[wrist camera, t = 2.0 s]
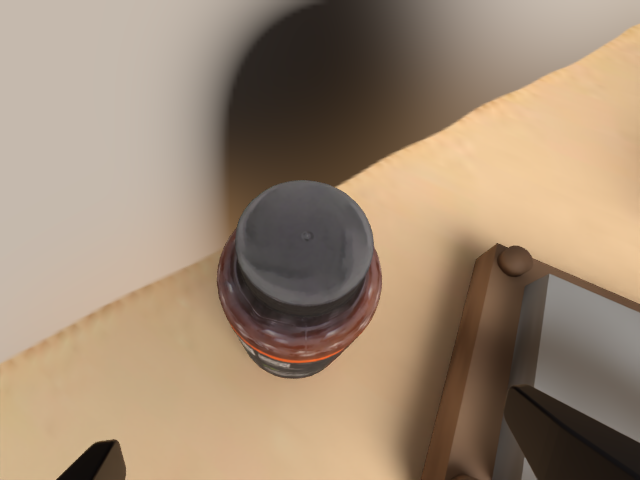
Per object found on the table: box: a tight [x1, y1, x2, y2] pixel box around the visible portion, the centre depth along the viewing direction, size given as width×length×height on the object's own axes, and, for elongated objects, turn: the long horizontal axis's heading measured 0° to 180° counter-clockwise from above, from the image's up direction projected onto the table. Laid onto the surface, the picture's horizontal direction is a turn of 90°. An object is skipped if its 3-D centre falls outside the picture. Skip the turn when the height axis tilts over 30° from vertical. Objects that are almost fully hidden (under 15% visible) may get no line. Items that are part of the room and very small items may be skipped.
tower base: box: [421, 243, 640, 480], centre depth 17 cm, size 14×14×4 cm
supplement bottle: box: [217, 180, 382, 379], centre depth 15 cm, size 6×6×11 cm
